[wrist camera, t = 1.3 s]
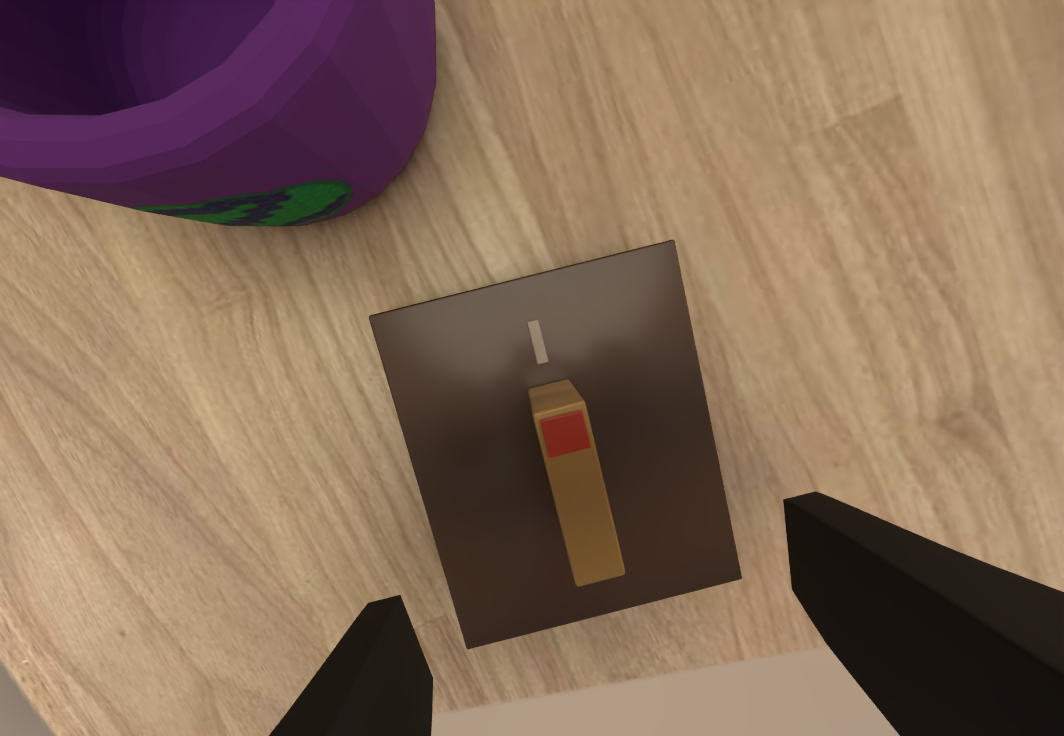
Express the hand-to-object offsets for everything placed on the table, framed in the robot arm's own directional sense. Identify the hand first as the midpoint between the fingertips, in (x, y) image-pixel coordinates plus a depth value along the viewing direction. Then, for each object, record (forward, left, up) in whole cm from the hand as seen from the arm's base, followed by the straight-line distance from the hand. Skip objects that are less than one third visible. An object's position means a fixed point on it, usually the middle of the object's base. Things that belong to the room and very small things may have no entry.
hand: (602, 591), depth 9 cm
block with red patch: (0, 0, -7) cm, 7 cm away
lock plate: (0, 0, -11) cm, 11 cm away
